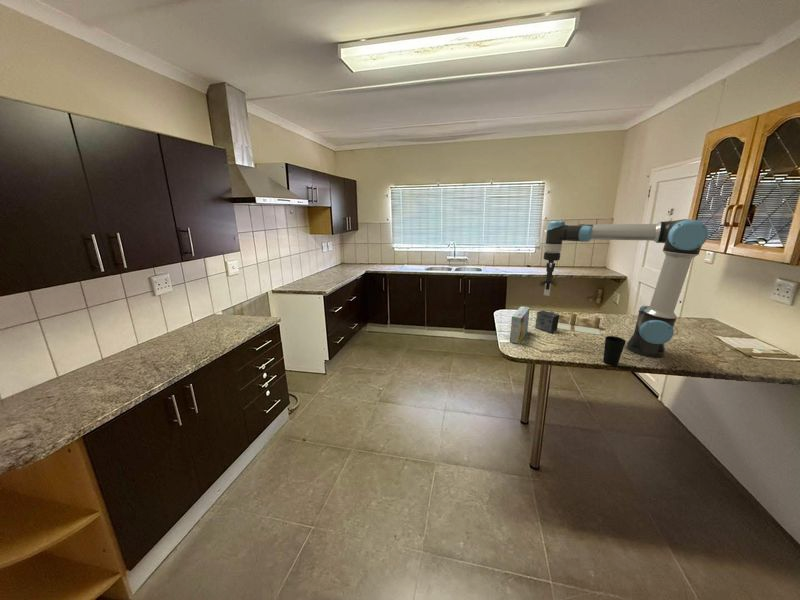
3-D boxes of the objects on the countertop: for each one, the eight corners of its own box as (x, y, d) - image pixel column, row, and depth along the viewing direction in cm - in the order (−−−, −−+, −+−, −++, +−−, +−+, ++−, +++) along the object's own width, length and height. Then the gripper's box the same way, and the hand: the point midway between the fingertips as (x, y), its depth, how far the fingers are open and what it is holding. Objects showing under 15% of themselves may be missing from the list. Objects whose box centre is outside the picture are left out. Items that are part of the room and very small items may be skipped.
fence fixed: (598, 328, 185) (600, 317, 183) (598, 329, 183) (600, 318, 181) (569, 323, 192) (571, 313, 190) (569, 325, 190) (571, 314, 188)
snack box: (517, 330, 183) (520, 305, 178) (527, 331, 180) (530, 307, 175) (508, 342, 166) (511, 315, 161) (519, 344, 163) (522, 317, 158)
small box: (557, 331, 180) (560, 314, 178) (551, 333, 177) (553, 316, 174) (540, 326, 189) (543, 309, 186) (534, 328, 185) (536, 311, 182)
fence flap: (568, 323, 192) (570, 313, 191) (568, 324, 190) (570, 314, 188) (548, 320, 198) (549, 310, 196) (547, 321, 195) (549, 312, 193)
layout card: (598, 326, 188) (598, 325, 188) (600, 335, 175) (600, 334, 175) (548, 319, 201) (548, 318, 201) (546, 326, 187) (546, 326, 187)
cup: (602, 365, 141) (607, 341, 138) (598, 358, 148) (603, 335, 144) (622, 368, 138) (628, 343, 135) (617, 360, 145) (622, 337, 142)
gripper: (545, 249, 169) (540, 286, 175) (543, 254, 148) (537, 297, 154) (560, 249, 166) (555, 287, 172) (560, 255, 145) (554, 298, 151)
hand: (546, 292), depth 163 cm, fingers open, 13 cm apart
